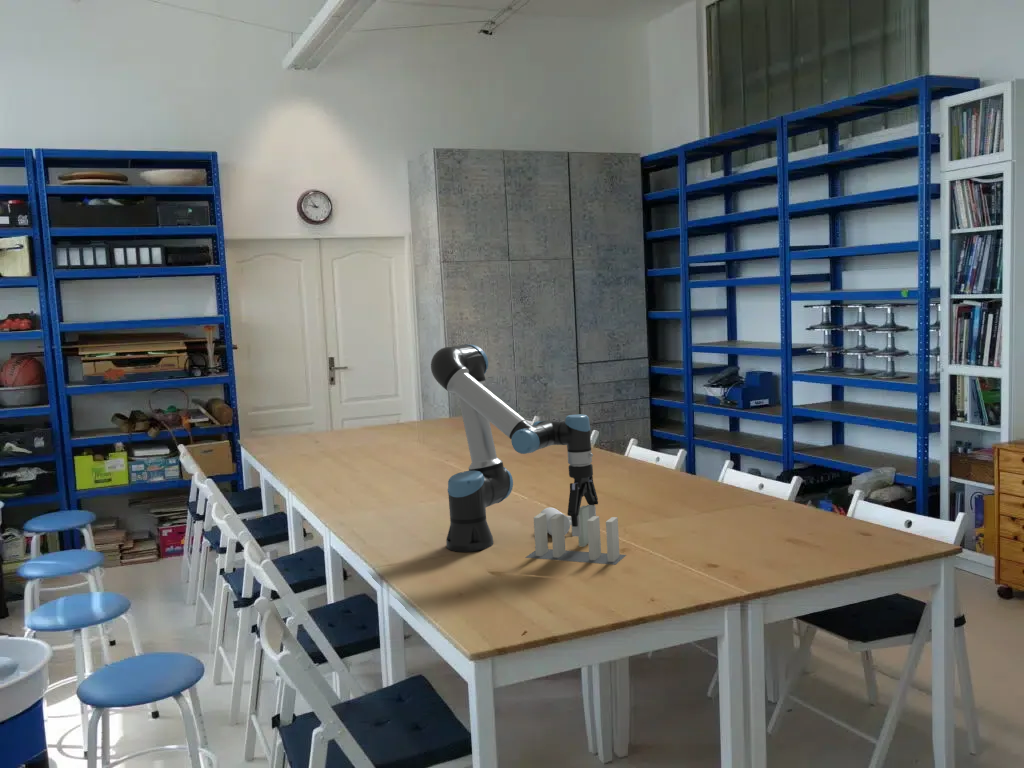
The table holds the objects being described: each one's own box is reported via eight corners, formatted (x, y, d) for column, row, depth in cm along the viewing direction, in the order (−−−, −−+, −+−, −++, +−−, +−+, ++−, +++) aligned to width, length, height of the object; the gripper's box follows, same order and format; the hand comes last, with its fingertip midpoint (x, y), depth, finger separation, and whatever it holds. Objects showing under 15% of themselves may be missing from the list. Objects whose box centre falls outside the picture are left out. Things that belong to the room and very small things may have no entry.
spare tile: (578, 547, 286) (576, 509, 285) (585, 542, 291) (582, 505, 290) (584, 547, 285) (582, 509, 284) (590, 542, 290) (588, 505, 289)
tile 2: (553, 557, 276) (551, 518, 274) (560, 552, 280) (558, 514, 279) (558, 557, 275) (556, 518, 274) (565, 552, 280) (563, 514, 278)
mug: (547, 539, 298) (546, 515, 297) (538, 531, 307) (537, 508, 306) (582, 534, 301) (581, 510, 300) (572, 527, 310) (571, 504, 309)
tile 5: (607, 561, 268) (605, 521, 267) (613, 556, 273) (611, 517, 272) (613, 562, 267) (611, 521, 266) (619, 556, 272) (617, 517, 271)
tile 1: (535, 555, 278) (533, 517, 277) (542, 550, 283) (540, 513, 282) (541, 556, 277) (538, 517, 276) (548, 551, 282) (546, 513, 281)
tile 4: (589, 560, 271) (587, 520, 269) (595, 554, 275) (593, 516, 274) (595, 560, 270) (592, 520, 269) (601, 555, 275) (599, 516, 273)
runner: (525, 558, 277) (524, 557, 277) (538, 549, 286) (538, 548, 286) (615, 565, 265) (615, 564, 265) (626, 555, 274) (626, 554, 274)
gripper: (576, 472, 273) (581, 541, 275) (605, 456, 295) (609, 521, 297) (553, 471, 276) (558, 540, 278) (583, 456, 298) (587, 520, 300)
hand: (584, 530), depth 287 cm, fingers open, 13 cm apart
